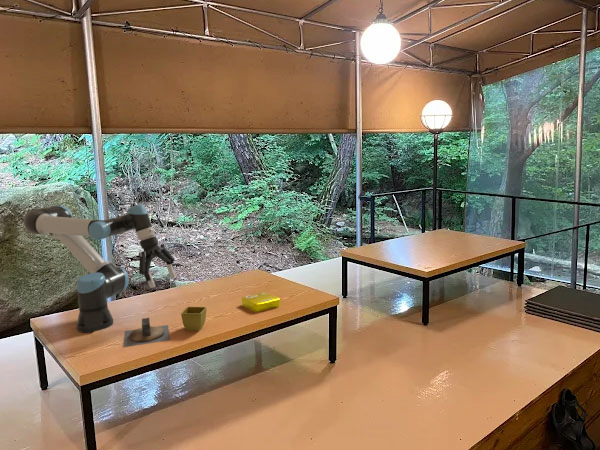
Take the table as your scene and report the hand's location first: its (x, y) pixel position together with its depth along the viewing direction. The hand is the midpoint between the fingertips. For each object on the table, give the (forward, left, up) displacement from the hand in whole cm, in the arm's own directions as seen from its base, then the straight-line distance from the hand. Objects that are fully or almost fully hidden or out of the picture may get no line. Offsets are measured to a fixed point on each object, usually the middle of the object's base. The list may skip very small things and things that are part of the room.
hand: (163, 282), depth 215 cm
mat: (-9, -17, -18) cm, 26 cm away
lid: (-9, -17, -17) cm, 26 cm away
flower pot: (+11, -17, -18) cm, 27 cm away
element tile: (+45, +3, -19) cm, 49 cm away
